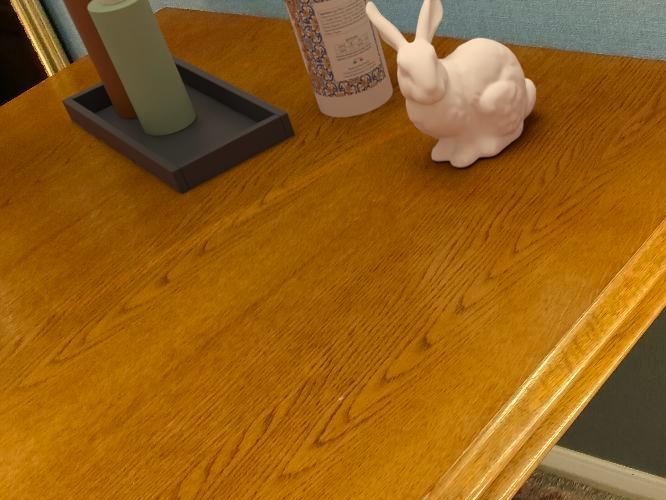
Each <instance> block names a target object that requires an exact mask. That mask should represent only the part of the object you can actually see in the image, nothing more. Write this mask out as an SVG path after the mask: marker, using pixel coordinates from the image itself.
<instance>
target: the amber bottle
mask: <svg viewBox="0 0 666 500" xmlns="http://www.w3.org/2000/svg"><path fill="white" fill-rule="evenodd" d="M91 1H92V0H62V2H63V4H64V6H65V8H66V10H67V12H68V14H69V17H70V18H71V20H72V23H73V25H74V27H75V29H76V31H77V33H78V36H79V37H80V39H81V42H82V44H83V46H84V47H85V50H86V52H87V54H88V56H89V59H90V60H91V63H92V64H93V67H94V69H95V70H96V73H97V75H98V77H99V79H100V82H102V83H103V85H104V87H105V89H106V91H107V93H108V95H109V98H110V100H111V102H112V104H113V106H114V108H115V110H116V112H117V114H118V116H120V117H121V118H125V119H135V118H138V116H137V114H136V112H135V110H134V107H133V105H132V103H131V101H130V99H129V97H128V95H127V92H126V90H125V88H124V86H123V84H122V82H121V80H120V77H119V75H118V73H117V71H116V69H115V67H114V65H113V62H112V60H111V58H110V56H109V54H108V52H107V50H106V47H105V45H104V43H103V41H102V39H101V37H100V35H99V32H98V30H97V28H96V26H95V24H94V22H93V20H92V17H91V15H90V13H89V11H88V8H87V7H88V5H89V3H90V2H91Z"/></svg>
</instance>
